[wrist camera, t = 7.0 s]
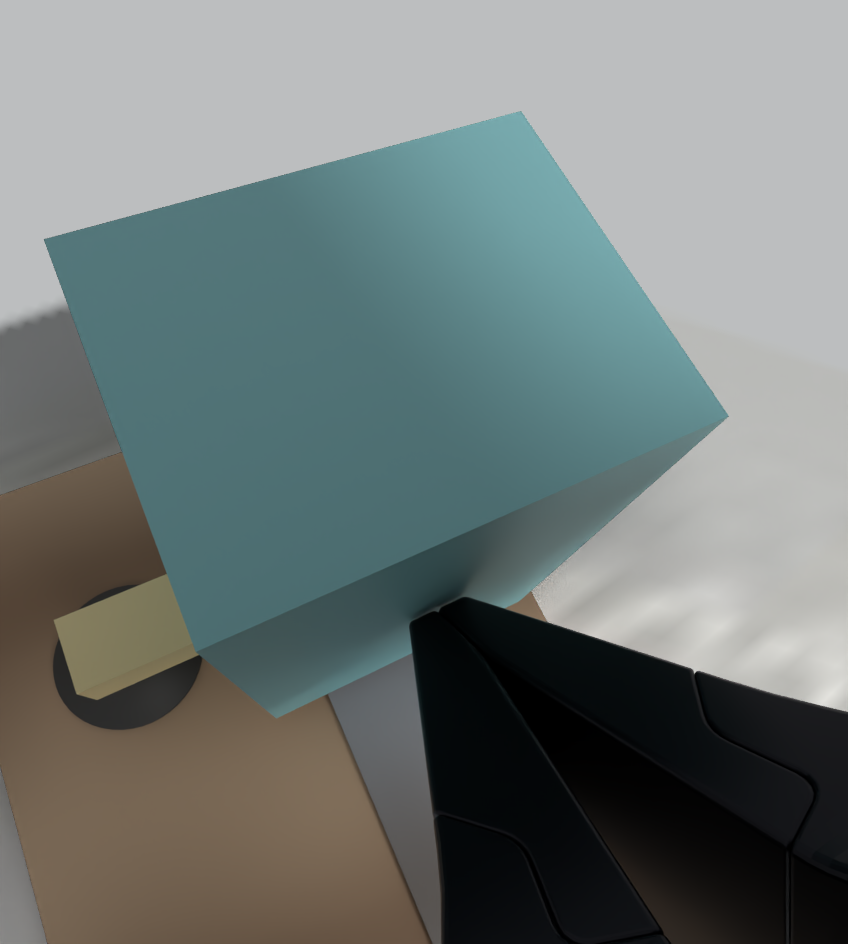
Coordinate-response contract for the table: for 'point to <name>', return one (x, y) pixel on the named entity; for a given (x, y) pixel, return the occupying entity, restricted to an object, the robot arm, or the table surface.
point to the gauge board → (196, 765)
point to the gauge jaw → (364, 405)
